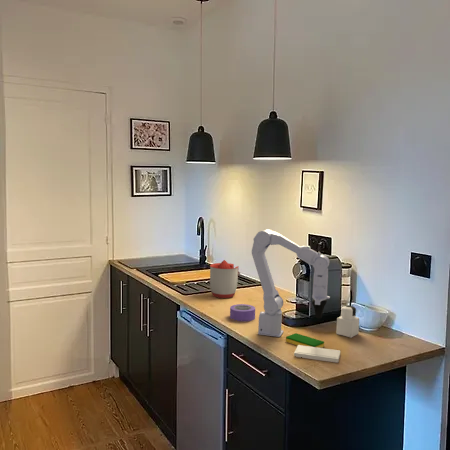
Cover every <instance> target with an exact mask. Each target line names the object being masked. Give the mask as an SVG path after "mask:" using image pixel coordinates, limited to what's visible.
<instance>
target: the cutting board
mask: <svg viewBox="0 0 450 450" xmlns="http://www.w3.org/2000/svg"><path fill="white" fill-rule="evenodd" d="M294 356H296V357H295V358H301V357H302V358H303V359H310V360H314V361H315V360H316V361H323V362H332V363H336V364H337V363H338V364H339V361H340V357H341V350H339V349H338V350H337V349H332V348H324V347H322V348H318V347H310V346H303V345H296V349H295V350H294V352H293V357H294ZM302 358H301V359H302Z"/></svg>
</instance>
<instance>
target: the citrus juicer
mask: <svg viewBox="0 0 450 450" xmlns="http://www.w3.org/2000/svg"><path fill="white" fill-rule="evenodd" d="M234 265H235V264H234V263H231V262H230V263H229V262H228V261H227V260H225V259H224V260H222V261H221V262H218V263H216V262H215V263H211V264H210V265H209V267H210V268H209V269H210V271H209V286H210V291H211V294H212V296H213V297H215V298H219V299H229V298H233V297H235V295H236V291H237V287H238V279H239V278H238V276H239V275H241V272H240V271H239V265H237V266H234Z"/></svg>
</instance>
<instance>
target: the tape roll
mask: <svg viewBox="0 0 450 450" xmlns="http://www.w3.org/2000/svg"><path fill="white" fill-rule="evenodd" d="M229 318H230V320H232V319H234V320H233V321H236V320H237V321H236V322H251V321H255V319H256V306H253V305H251V304H245V303H244V304H243V303H241V304H237V303H236V304H233V305H230V309H229Z"/></svg>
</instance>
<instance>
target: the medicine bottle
mask: <svg viewBox="0 0 450 450" xmlns="http://www.w3.org/2000/svg"><path fill="white" fill-rule="evenodd" d="M356 314H357V308H356V307H355V306H353V305H343V306H341V312H340V316H339V317H337V318H336V329H335V333H336V335H339V336H344V337H348V338H353V337H355V336H357V335H359V332H360V331H359V330H360V329H359V328H360V317H358V316H356Z"/></svg>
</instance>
